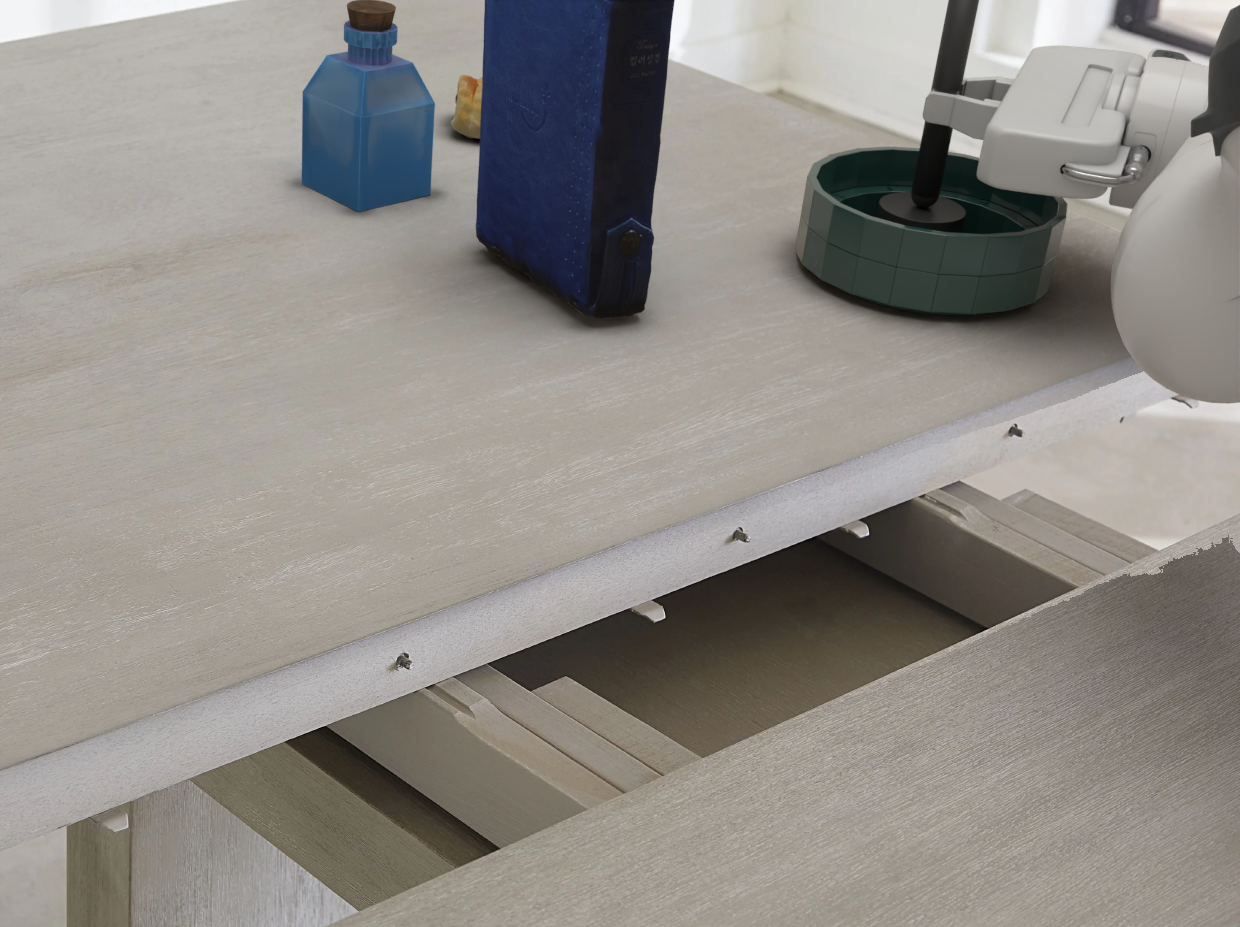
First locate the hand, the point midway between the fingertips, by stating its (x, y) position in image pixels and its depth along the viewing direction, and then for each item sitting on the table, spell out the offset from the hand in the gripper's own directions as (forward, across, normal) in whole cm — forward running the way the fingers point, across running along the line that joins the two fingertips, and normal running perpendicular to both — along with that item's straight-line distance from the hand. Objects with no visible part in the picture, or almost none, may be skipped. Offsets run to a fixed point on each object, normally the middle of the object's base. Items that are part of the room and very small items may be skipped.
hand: (930, 96), depth 119 cm
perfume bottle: (+35, -7, -11) cm, 37 cm away
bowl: (-2, -2, -10) cm, 11 cm away
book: (+18, -16, -11) cm, 27 cm away
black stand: (-1, 0, -10) cm, 10 cm away
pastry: (+32, +10, -11) cm, 35 cm away
